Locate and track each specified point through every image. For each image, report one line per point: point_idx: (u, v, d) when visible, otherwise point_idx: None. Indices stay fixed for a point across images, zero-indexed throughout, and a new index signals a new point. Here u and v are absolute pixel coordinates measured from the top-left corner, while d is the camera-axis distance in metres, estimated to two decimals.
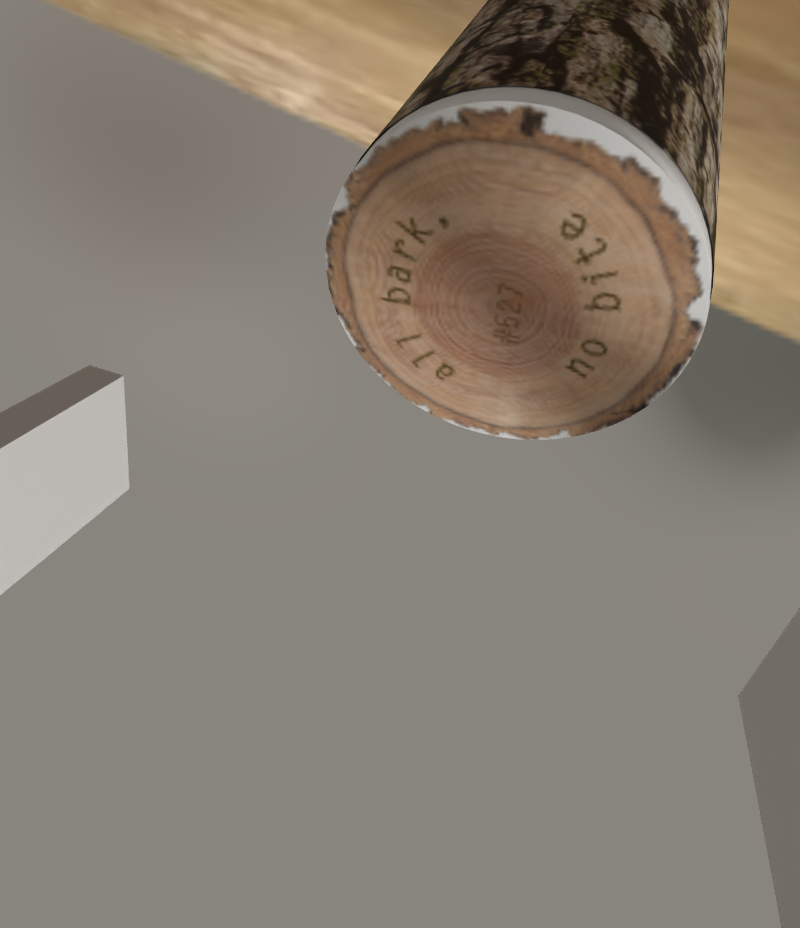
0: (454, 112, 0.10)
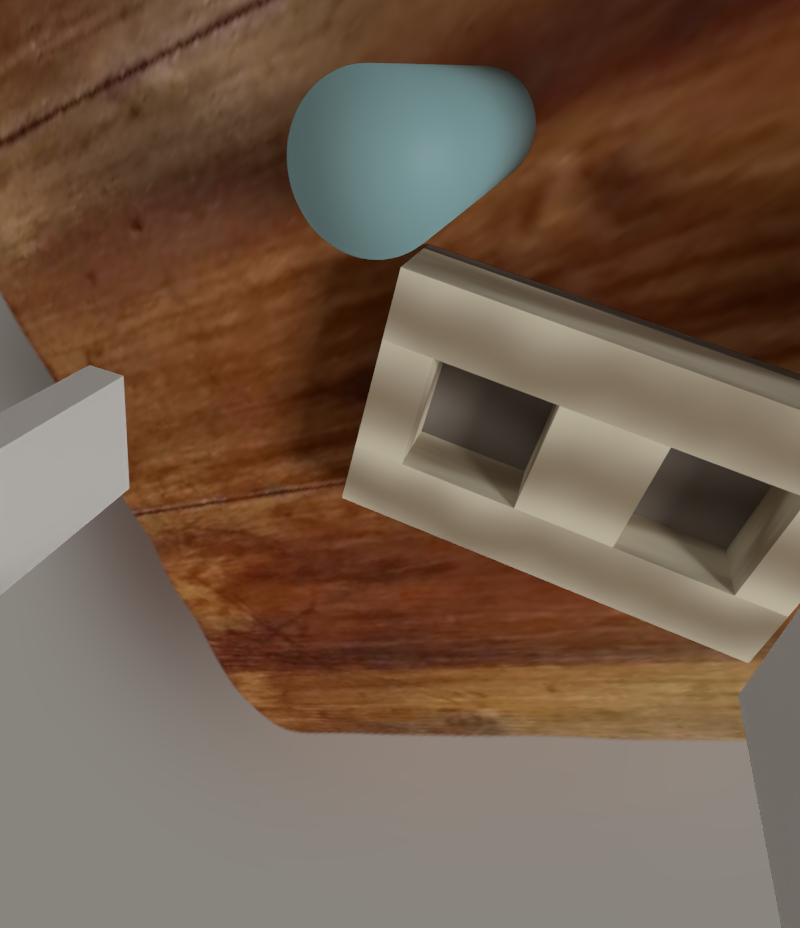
0: None
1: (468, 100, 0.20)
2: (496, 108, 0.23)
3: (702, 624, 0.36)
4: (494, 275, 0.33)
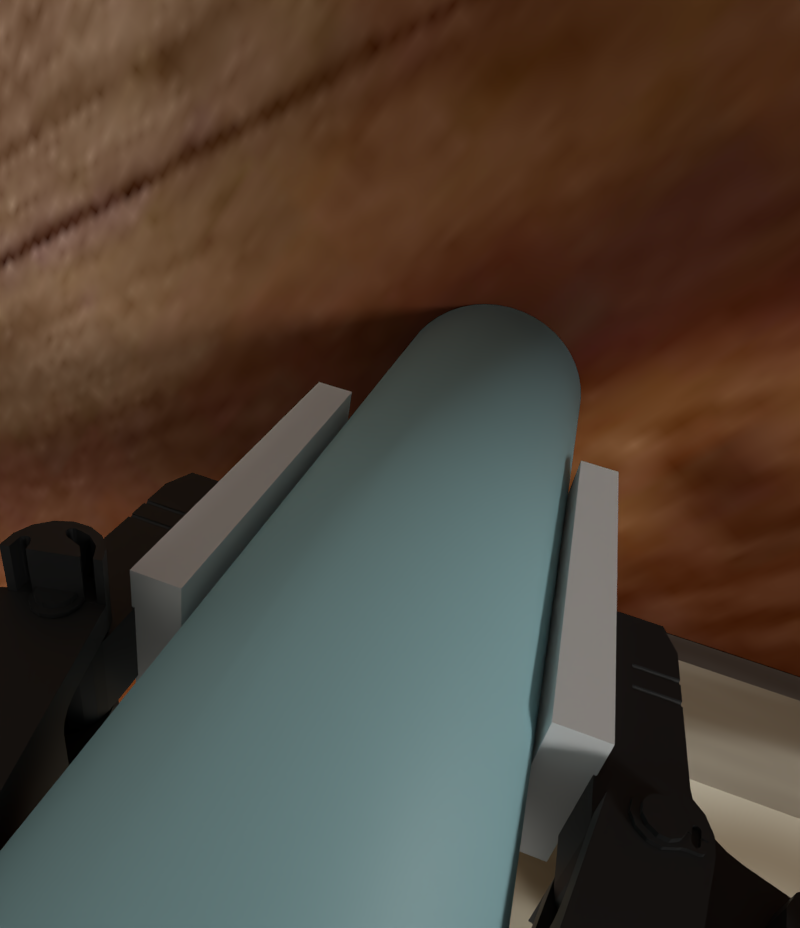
0: None
1: (465, 760, 0.07)
2: (530, 567, 0.10)
3: None
4: None
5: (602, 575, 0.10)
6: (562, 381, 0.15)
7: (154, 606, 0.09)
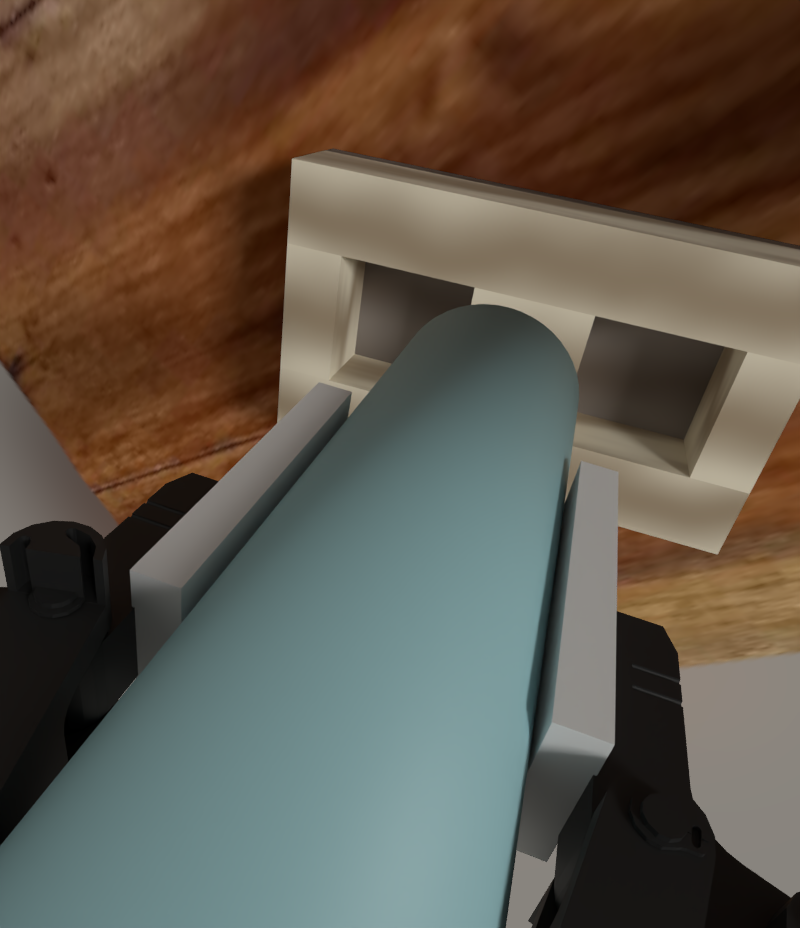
0: None
1: (461, 758, 0.07)
2: (527, 566, 0.10)
3: (662, 516, 0.33)
4: (398, 167, 0.32)
5: (602, 575, 0.10)
6: (560, 381, 0.15)
7: (154, 606, 0.09)
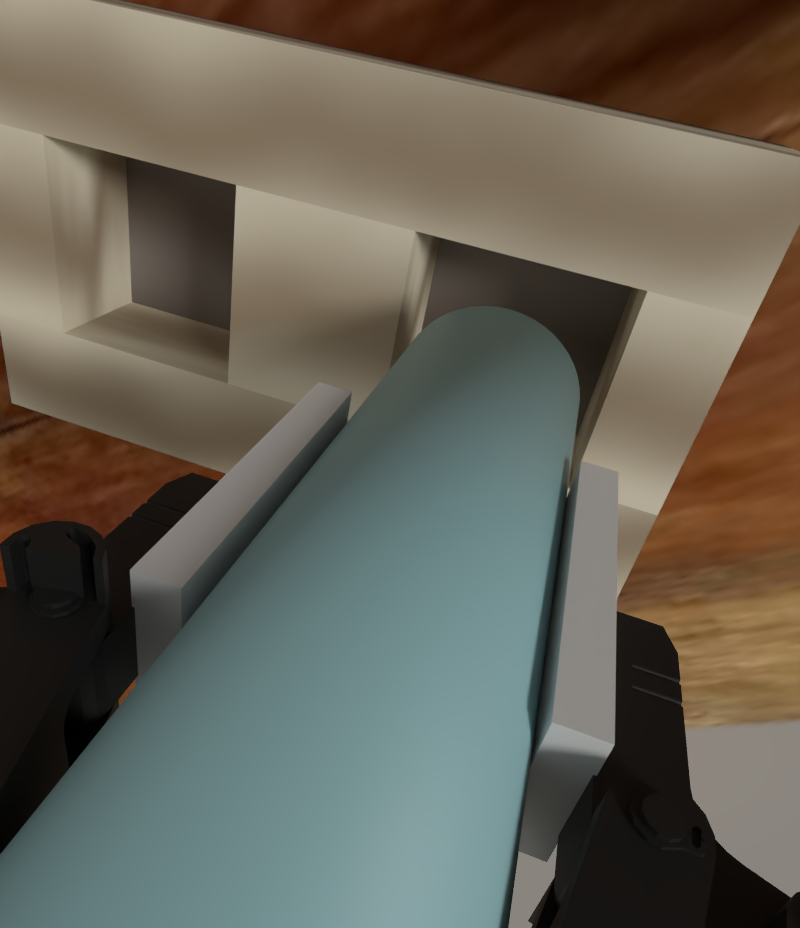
0: None
1: (464, 762, 0.07)
2: (529, 569, 0.10)
3: None
4: (144, 6, 0.21)
5: (603, 575, 0.10)
6: (561, 383, 0.15)
7: (154, 606, 0.09)
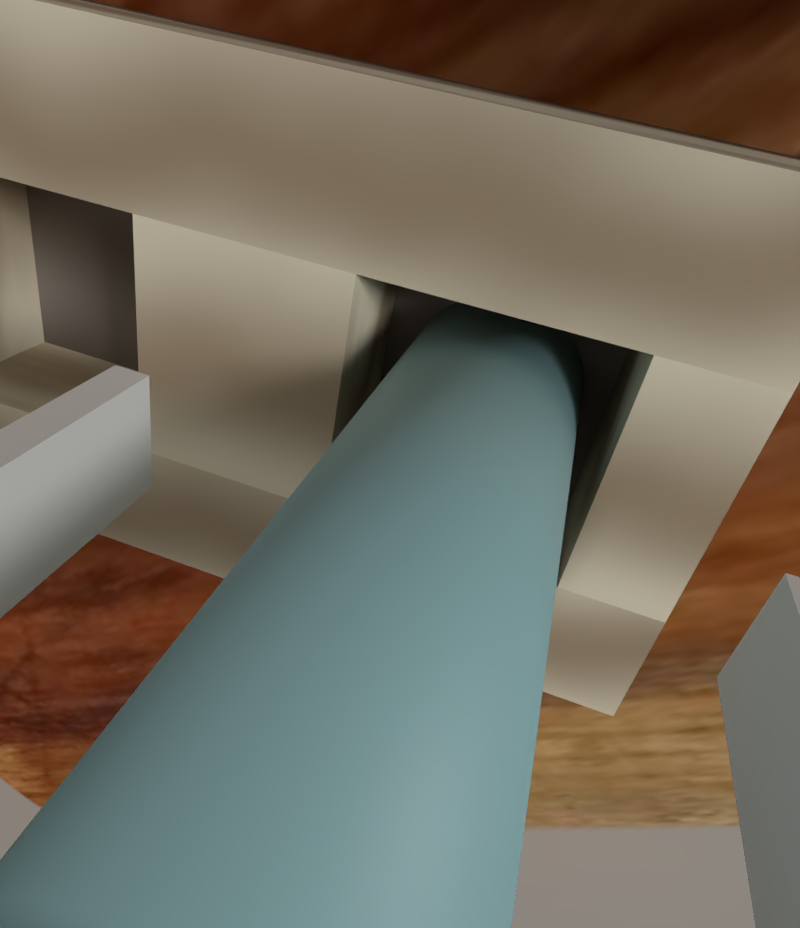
0: None
1: (484, 686, 0.07)
2: (538, 531, 0.11)
3: None
4: None
5: None
6: (566, 367, 0.16)
7: None
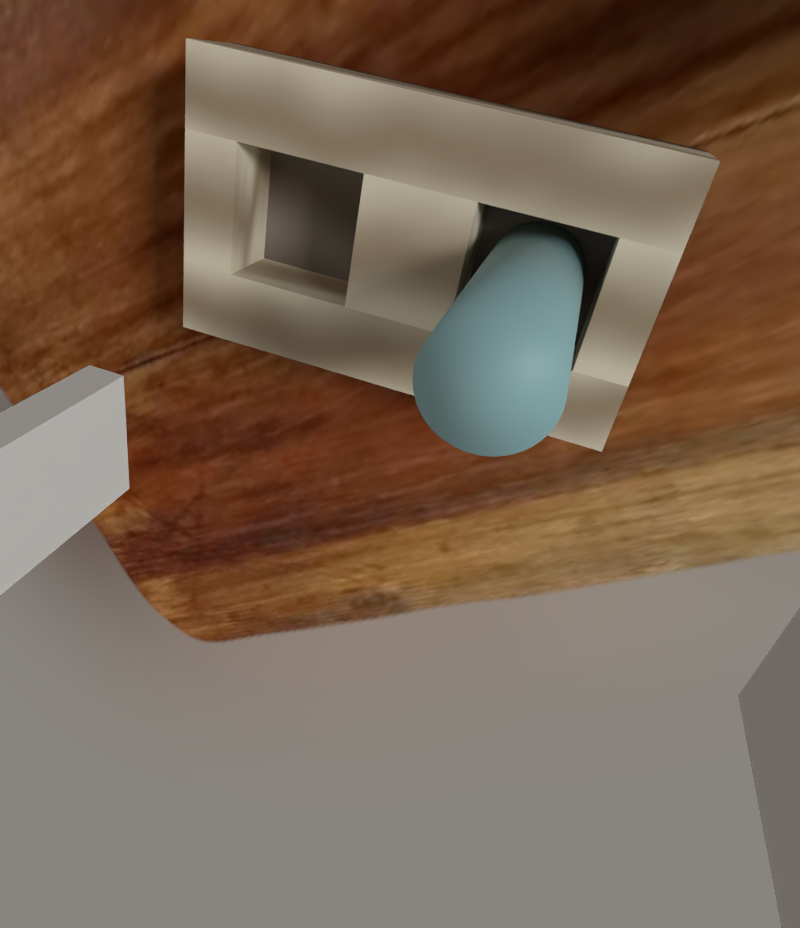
0: None
1: (560, 310, 0.23)
2: (571, 293, 0.26)
3: None
4: (297, 59, 0.33)
5: None
6: (577, 253, 0.32)
7: None
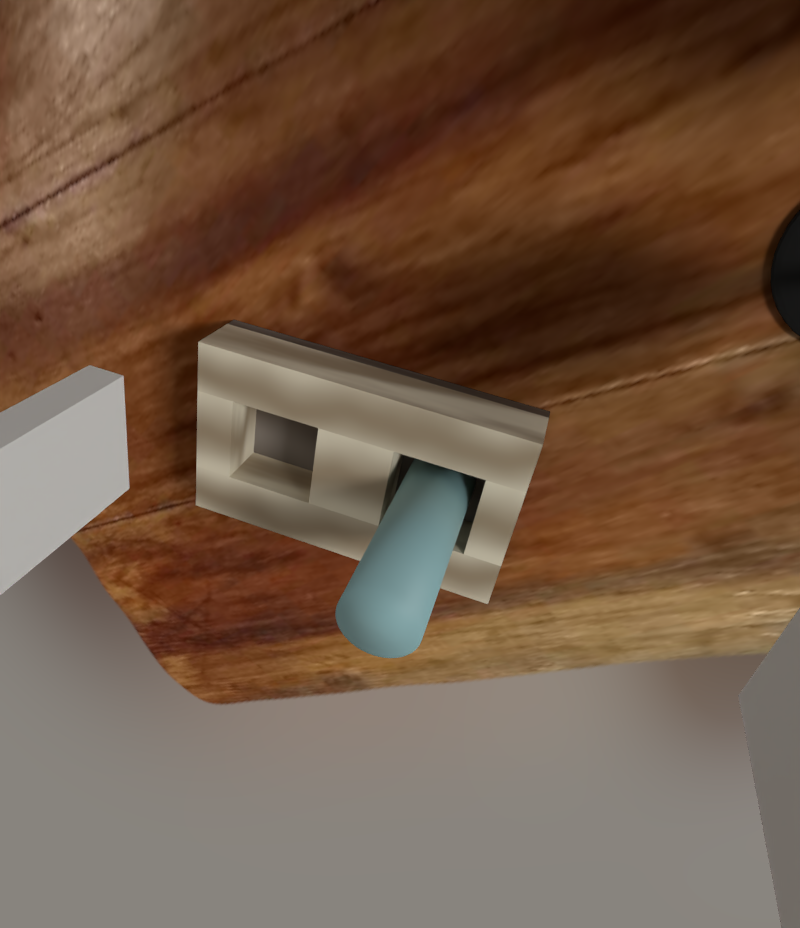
0: None
1: (426, 566, 0.38)
2: (444, 535, 0.41)
3: (450, 577, 0.49)
4: (274, 340, 0.48)
5: None
6: (464, 477, 0.47)
7: None
